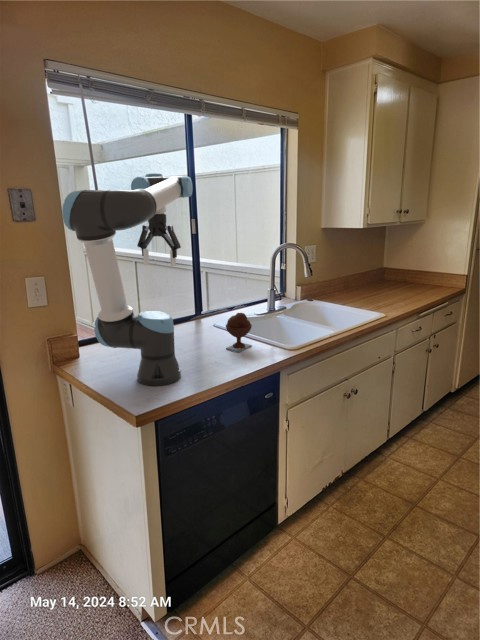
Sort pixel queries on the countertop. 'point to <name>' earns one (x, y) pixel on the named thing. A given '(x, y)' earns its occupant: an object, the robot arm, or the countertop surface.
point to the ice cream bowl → (238, 328)
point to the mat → (238, 348)
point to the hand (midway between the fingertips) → (159, 264)
